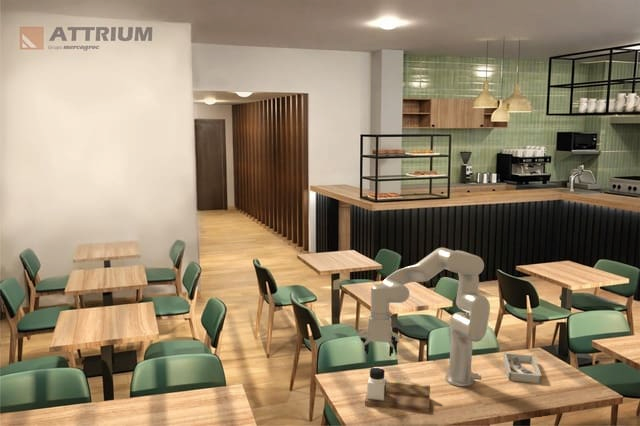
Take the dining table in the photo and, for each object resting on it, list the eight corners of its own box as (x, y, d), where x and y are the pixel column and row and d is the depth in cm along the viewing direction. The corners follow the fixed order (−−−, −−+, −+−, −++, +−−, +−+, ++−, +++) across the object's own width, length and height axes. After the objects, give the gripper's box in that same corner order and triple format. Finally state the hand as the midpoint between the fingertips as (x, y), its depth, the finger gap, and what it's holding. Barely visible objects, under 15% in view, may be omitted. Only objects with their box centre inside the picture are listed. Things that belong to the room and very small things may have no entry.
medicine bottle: (384, 400, 229) (385, 373, 227) (367, 399, 230) (367, 371, 228) (385, 392, 236) (386, 366, 234) (369, 390, 237) (369, 364, 235)
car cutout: (505, 364, 269) (506, 355, 268) (517, 362, 271) (518, 354, 270) (525, 378, 255) (526, 368, 254) (537, 376, 256) (538, 367, 256)
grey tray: (533, 362, 272) (533, 355, 272) (541, 383, 250) (541, 376, 249) (503, 359, 275) (503, 352, 275) (508, 380, 253) (509, 372, 252)
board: (429, 398, 235) (430, 385, 235) (428, 412, 224) (429, 398, 223) (368, 391, 241) (368, 378, 240) (364, 405, 229) (365, 391, 228)
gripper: (401, 313, 230) (400, 352, 233) (360, 310, 233) (359, 348, 236) (400, 319, 223) (399, 359, 225) (357, 316, 226) (356, 355, 229)
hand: (378, 353), depth 231 cm, fingers open, 9 cm apart
